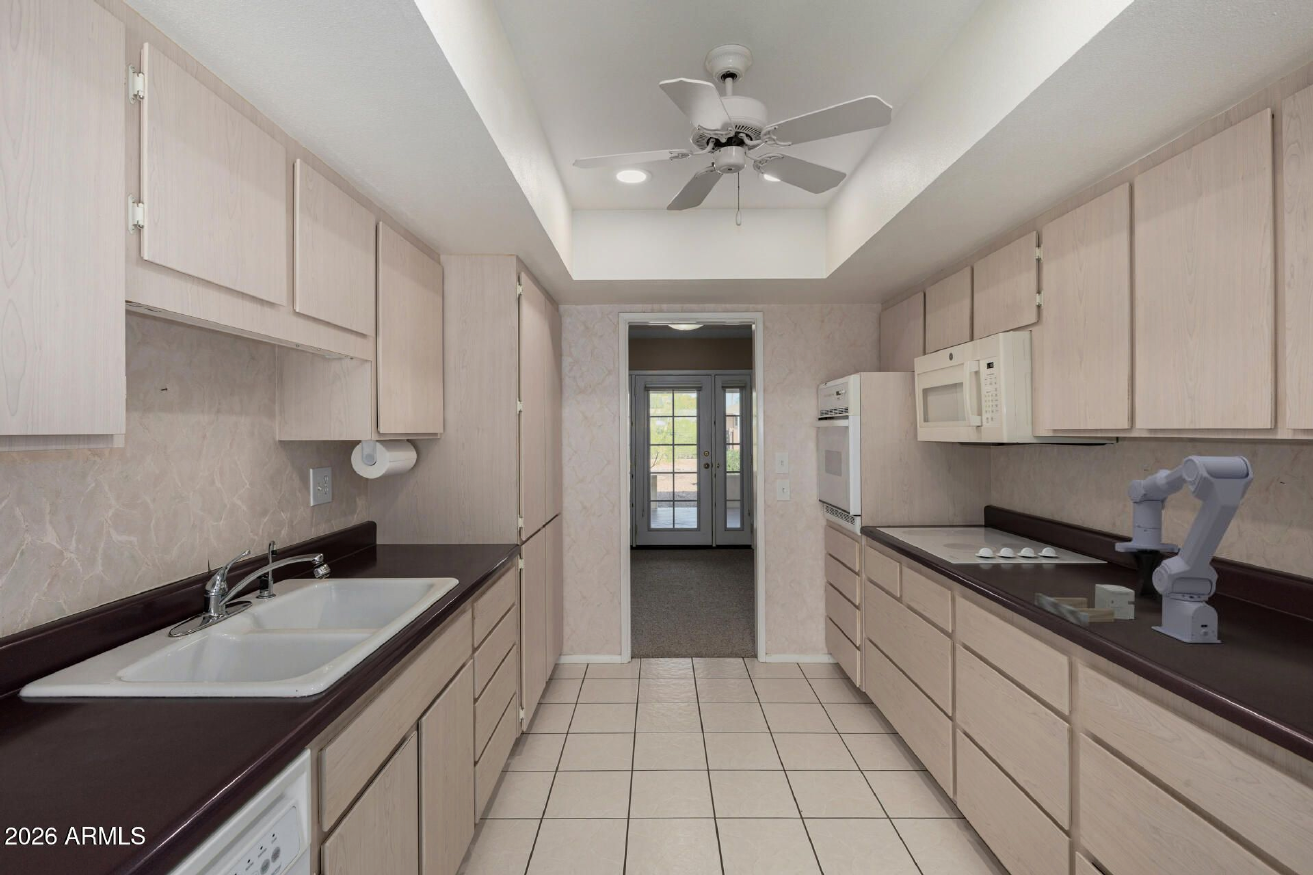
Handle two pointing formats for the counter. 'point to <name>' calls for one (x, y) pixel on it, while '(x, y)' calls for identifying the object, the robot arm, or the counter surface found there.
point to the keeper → (1074, 609)
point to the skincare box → (1115, 600)
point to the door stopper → (1148, 589)
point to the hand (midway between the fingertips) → (1145, 579)
